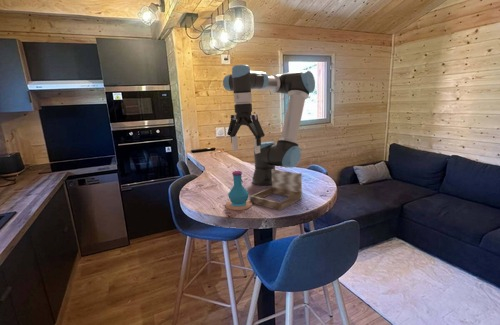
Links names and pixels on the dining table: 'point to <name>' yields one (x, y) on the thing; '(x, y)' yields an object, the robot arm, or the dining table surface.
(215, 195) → the dining table surface
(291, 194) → the frame
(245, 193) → the perfume bottle
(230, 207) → the saucer
